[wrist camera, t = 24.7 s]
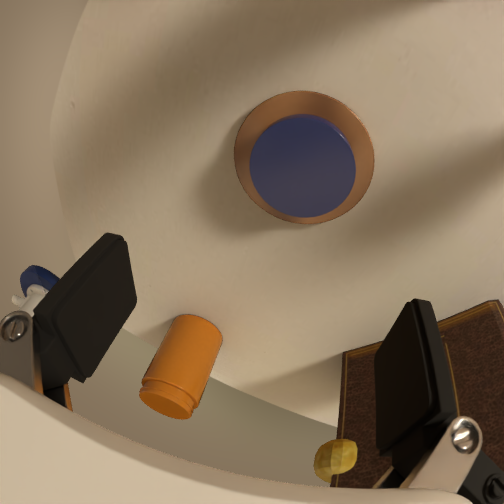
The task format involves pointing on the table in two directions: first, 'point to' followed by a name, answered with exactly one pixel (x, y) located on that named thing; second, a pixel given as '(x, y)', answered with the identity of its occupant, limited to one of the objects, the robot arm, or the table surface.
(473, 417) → the book
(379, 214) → the table surface
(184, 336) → the jar
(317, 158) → the lid
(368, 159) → the coaster
